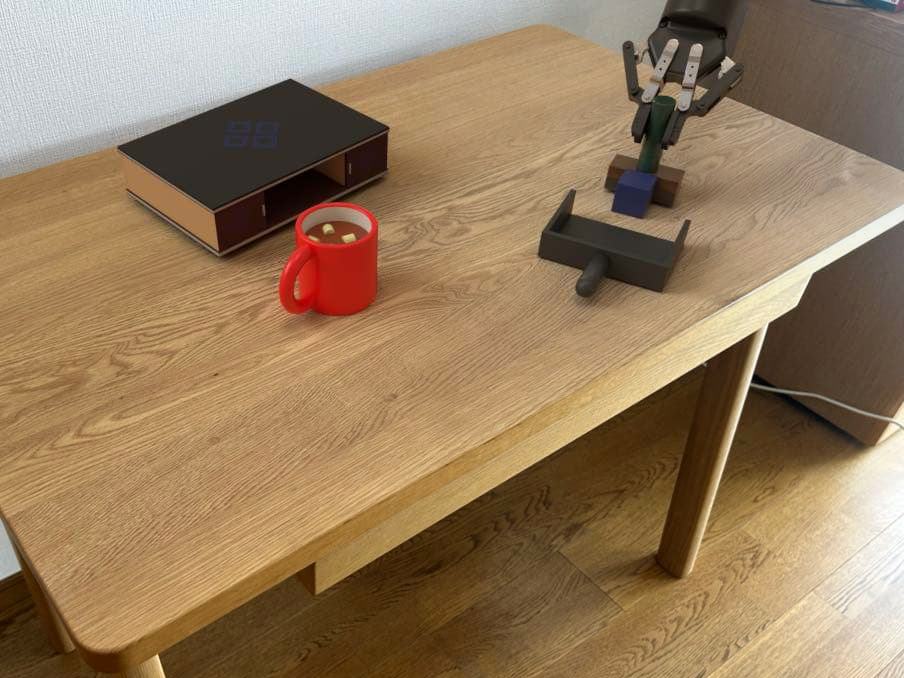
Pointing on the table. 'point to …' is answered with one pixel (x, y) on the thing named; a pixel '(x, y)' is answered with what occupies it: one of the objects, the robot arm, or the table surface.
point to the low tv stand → (254, 164)
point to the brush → (651, 155)
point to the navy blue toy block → (634, 193)
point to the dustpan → (608, 250)
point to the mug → (332, 261)
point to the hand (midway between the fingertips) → (651, 143)
